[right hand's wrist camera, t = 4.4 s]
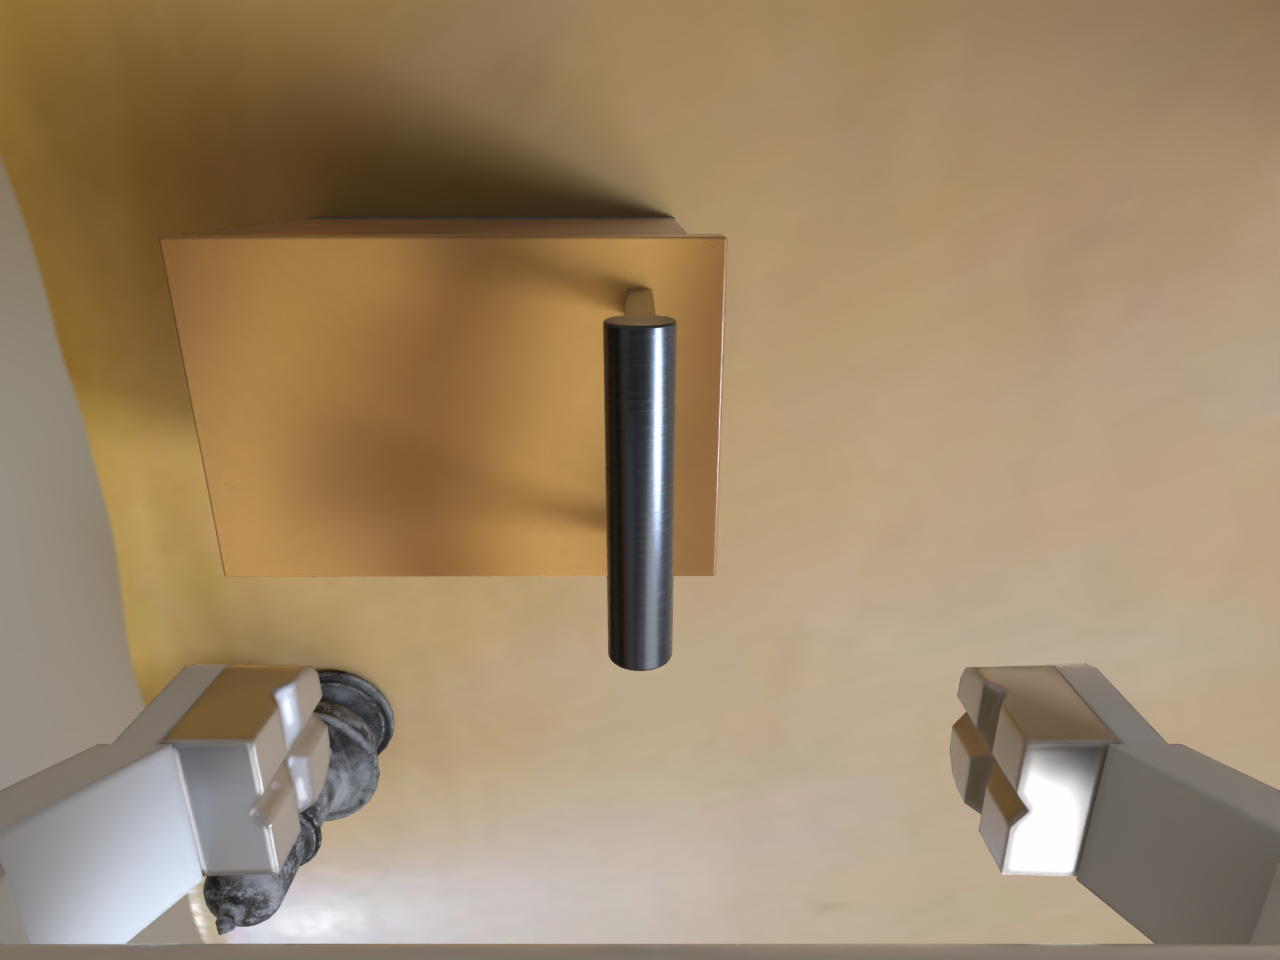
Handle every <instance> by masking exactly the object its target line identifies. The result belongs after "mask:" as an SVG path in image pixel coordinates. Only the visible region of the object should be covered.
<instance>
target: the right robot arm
mask: <svg viewBox="0 0 1280 960" xmlns="http://www.w3.org/2000/svg"><path fill="white" fill-rule="evenodd" d="M322 696H323V695H322V690H321V685H320V680H319V675H318V673H317V672H316V671H315V669H314V668H313V667H312V666H284V665H229V664H195V665H191V666H187V667H184V668H183V669H182V670H181V671H180V672H179V673H178V674H177V675H176V676H175V678H174V679H173V680H172V681H171V682H170V683H169V684H168V685H167V686H166V687H165V688H164V689H163V690H162V691H161V692H160V693H159V695H158V696H157V697H156V698H155V699H154V700H153V701H152V702H151V703H150V704H149V705H148V706H147V707H146V708H145V709H144V710H143V711H142V713H141V714H140V715H139V716H138V717H137V718H136V719H135V720H134V721H133V722H132V723H131V724H130V725H129V726H128V727H127V728H126V730H125V731H124V732H123V733H122V734H121V735H120V736H119V737H118V738H117V739H116V740H115V741H114V742H113V743H112V744H98V745H96V746H93V747H91V748H89V749H87V750H85V751H83V752H81V753H79V754H76V755H74V756H72V757H70V758H68V759H66V760H64V761H62V762H60V763H57V764H55V765H53V766H51V767H49V768H47V769H45V770H43V771H41V772H38V773H36V774H34V775H32V776H30V777H28V778H26V779H24V780H22V781H19V782H17V783H15V784H13V785H11V786H9V787H7V788H5V789H3V790H0V960H1280V791H1279V790H1277V789H1275V788H1273V787H1271V786H1269V785H1267V784H1265V783H1262V782H1260V781H1258V780H1256V779H1254V778H1252V777H1250V776H1248V775H1246V774H1244V773H1241V772H1239V771H1237V770H1235V769H1233V768H1231V767H1229V766H1227V765H1225V764H1222V763H1220V762H1218V761H1216V760H1214V759H1212V758H1210V757H1208V756H1206V755H1203V754H1201V753H1199V752H1197V751H1195V750H1193V749H1191V748H1189V747H1187V746H1185V745H1182V744H1168V743H1167V742H1166V741H1165V740H1164V739H1163V738H1162V737H1161V736H1160V735H1159V734H1158V733H1157V732H1156V731H1155V729H1154V728H1153V727H1152V726H1151V725H1150V724H1149V723H1148V722H1147V721H1146V720H1145V719H1144V718H1143V717H1142V716H1141V715H1140V714H1139V712H1138V711H1137V710H1136V709H1135V708H1134V707H1133V706H1132V705H1131V704H1130V703H1129V702H1128V701H1127V700H1126V699H1125V698H1124V697H1123V695H1122V694H1121V693H1120V692H1119V691H1118V690H1117V689H1116V688H1115V687H1114V686H1113V685H1112V684H1111V683H1110V682H1109V681H1108V680H1107V678H1106V677H1105V676H1104V675H1103V674H1102V673H1101V672H1100V671H1099V670H1098V669H1097V668H1095V667H1093V666H1091V665H1088V664H1063V665H1046V666H1004V667H966V668H965V670H964V672H963V674H962V676H961V678H960V683H959V689H958V695H957V696H958V698H959V699H960V701H961V703H962V704H963V706H964V708H965V709H966V711H967V712H966V713H965V714H964V715H963V716H962V717H961V718H960V719H959V720H958V721H957V722H956V723H955V724H954V725H953V727H952V735H951V744H950V755H951V766H952V773H953V776H954V779H955V783H956V786H957V789H958V791H959V793H960V795H961V797H962V799H963V801H964V803H965V804H967V805H968V806H970V807H971V808H973V809H974V810H976V811H977V812H979V813H980V814H982V815H981V820H980V826H979V832H980V834H981V836H982V837H983V839H984V841H985V843H986V845H987V847H988V849H989V851H990V852H991V854H992V856H993V858H994V860H995V862H996V864H997V866H998V868H999V869H1000V871H1001V873H1002V874H1015V875H1051V876H1077V879H1076V880H1077V881H1079V882H1080V883H1081V884H1082V885H1084V886H1085V887H1086V888H1087V889H1089V890H1090V891H1091V892H1092V893H1093V894H1095V895H1096V896H1097V897H1098V898H1100V899H1101V900H1102V901H1103V902H1104V903H1106V904H1107V905H1108V906H1109V907H1111V908H1112V909H1113V910H1114V911H1116V912H1117V913H1118V914H1119V915H1120V916H1122V917H1123V918H1124V919H1125V920H1127V921H1128V922H1129V923H1130V924H1131V925H1133V926H1134V927H1135V928H1136V929H1138V930H1139V931H1140V932H1141V933H1143V934H1144V935H1145V936H1146V937H1147V938H1149V939H1150V940H1151V941H1152V942H1154V943H1155V944H125V943H127V942H128V941H129V940H130V939H131V938H133V937H134V936H135V935H136V934H138V933H139V932H140V931H141V930H143V929H144V928H145V927H146V926H147V925H149V924H150V923H151V922H152V921H154V920H155V919H156V918H157V917H159V916H160V915H161V914H162V913H163V912H165V911H166V910H167V909H168V908H170V907H171V906H172V905H173V904H175V903H176V902H177V901H178V900H180V899H181V898H182V897H183V896H184V895H186V894H187V893H188V892H189V891H191V890H192V889H193V888H194V887H196V886H197V885H198V884H199V883H200V882H202V881H203V876H228V875H263V874H278V873H279V872H280V870H281V868H282V866H283V864H284V862H285V860H286V858H287V856H288V854H289V853H290V851H291V849H292V847H293V845H294V843H295V841H296V839H297V837H298V835H299V834H300V832H301V826H300V820H299V815H298V814H300V813H301V812H303V811H304V810H306V809H307V808H309V807H310V806H312V805H313V804H315V803H316V801H317V799H318V797H319V795H320V793H321V791H322V788H323V786H324V784H325V779H326V775H327V770H328V766H329V759H330V741H329V734H328V727H327V725H326V724H325V723H324V722H323V721H322V720H321V719H320V718H319V717H318V716H317V715H316V714H315V713H314V712H313V711H314V709H315V708H316V706H317V704H318V703H319V701H320V699H321V698H322Z"/></svg>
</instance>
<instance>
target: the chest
mask: <svg viewBox="0 0 1280 960" xmlns="http://www.w3.org/2000/svg"><path fill="white" fill-rule="evenodd" d="M375 234H687V233H686V232H685V231H684V230H683V228H682V227H681V226H680V225H679V224H678V223H677V222H676V221H675V218H674V217H336V218H309V219H304V220H296V221H288V222H279V223H271V224H263V225H255V226H247V227H239V228H230V229H222V230H214V231H206V232H198V233H190V234H183V235H375Z"/></svg>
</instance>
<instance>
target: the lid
mask: <svg viewBox="0 0 1280 960" xmlns="http://www.w3.org/2000/svg"><path fill="white" fill-rule="evenodd" d="M159 241H160V247H161V252H162V257H163V262H164V267H165V272H166V277H167V282H168V288H169V293H170V298H171V303H172V308H173V313H174V318H175V323H176V329H177V334H178V339H179V344H180V349H181V354H182V359H183V365H184V370H185V375H186V380H187V385H188V390H189V395H190V400H191V406H192V411H193V416H194V421H195V426H196V431H197V436H198V441H199V447H200V452H201V457H202V462H203V467H204V472H205V477H206V482H207V488H208V493H209V498H210V503H211V508H212V513H213V518H214V523H215V529H216V534H217V539H218V544H219V549H220V554H221V559H222V564H223V570H224V575H225V576H227V577H311V576H607V603H608V654H609V657H610V659H611V660H612V662H613V663H615V664H616V665H617V666H619V667H622V668H624V669H628V670H634V671H646V670H652V669H656V668H659V667H661V666H663V665H664V664H666V663H667V662H668V661H669V660H670V658H671V656H672V626H673V576H714V575H715V574H716V560H717V531H718V502H719V474H720V445H721V416H722V387H723V359H724V330H725V301H726V272H727V244H728V240H727V237H725V236H724V235H721V234H375V235H175V236H167V237H161V238H160V240H159Z"/></svg>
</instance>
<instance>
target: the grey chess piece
mask: <svg viewBox="0 0 1280 960" xmlns="http://www.w3.org/2000/svg"><path fill="white" fill-rule="evenodd" d="M318 675H319V680H320V685H321V690H322V695H323V696H322V698H321V699H320V701H319V703H318V704H317V706H316V708H315V709H314V711H313V712H314V713H315V714H316V715H317V716H318V717H319V718H320V719H321V720H322V721H323V722H324V723H325V724H326V725H327V727H328V734H329V741H330V759H329V766H328V770H327V775H326V779H325V784H324V786H323V788H322V791H321V793H320V795H319V797H318V799H317V801H316V803H315V804H313V805H312V806H310V807H309V808H307V809H306V810H304V811H303V812H301V813H300V814H298V815H299V820H300V826H301V832H300V834H299V835H298V837H297V839H296V841H295V843H294V845H293V847H292V849H291V851H290V853H289V854H288V856H287V858H286V860H285V862H284V864H283V866H282V868H281V870H280V872H279V873H278V874H263V875H228V876H207V878H206V880H205V884H204V891H203V893H204V897H205V901H206V905H207V907H208V908H209V910H210V912H211V913H212V914H213V915H214V916H215V917H216V918H217V920H216V922H215V923H216V926H217V930H218V933H219V935H222V934H225V933H227V932H229V931H232V930H234V928H235V926H239V927H249V926H254V925H257V924H259V923H261V922H263V921H265V920H267V919H269V918H270V917H271V916H272V915H273V914H274V913H275V912H276V911H277V910H278V908H279V907H280V905H281V903H282V901H283V899H284V897H285V895H286V893H287V891H288V889H289V887H290V885H291V883H292V881H293V879H294V877H295V875H296V873H297V871H298V869H299V867H300V866H301V865H303V864H305V863H307V862H309V861H310V860H311V859H312V858H313V857H314V856H315V855H316V854H317V852H318V850H319V848H320V846H321V839H322V835H321V829H320V828H321V826H322V824H323V822H324V821H332V820H336V819H340V818H345V817H347V816H349V815H351V814H353V813H355V812H357V811H359V810H360V809H361V808H362V807H363V806H364V805H366V804H367V803H368V802H369V801H370V799H371V797H372V796H373V794H374V792H375V790H376V789H377V785H378V780H379V774H380V772H379V766H378V755H379V754H380V753H381V752H382V751H383V750H384V749H385V748H386V747H387V745H388V743H389V742H390V740H391V738H392V736H393V730H394V725H395V724H394V716H393V711H392V709H391V707H390V705H389V702H388V700H387V699H386V698H385V697H384V696H383V694H382V693H381V692H380V691H379V690H378V689H377V688H376V687H374V686H373V685H372V684H370V683H369V682H368V681H366V680H363V679H361V678H359V677H357V676H354V675H351V674H346V673H341V672H323V673H319V674H318Z"/></svg>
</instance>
